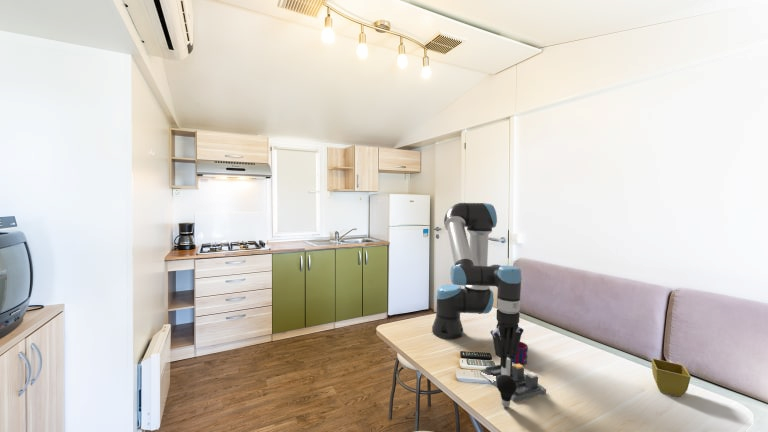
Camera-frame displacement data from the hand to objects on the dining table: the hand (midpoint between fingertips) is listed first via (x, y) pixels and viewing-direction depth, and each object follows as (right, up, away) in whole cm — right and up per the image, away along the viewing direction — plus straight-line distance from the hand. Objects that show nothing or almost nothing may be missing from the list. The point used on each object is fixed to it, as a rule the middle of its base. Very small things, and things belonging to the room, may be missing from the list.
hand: (505, 375), depth 109 cm
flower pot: (+57, -5, -2) cm, 57 cm away
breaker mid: (+5, -2, +2) cm, 6 cm away
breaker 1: (+4, -1, +8) cm, 9 cm away
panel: (+3, -3, +1) cm, 5 cm away
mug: (+11, -3, +18) cm, 22 cm away
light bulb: (-5, -4, -12) cm, 13 cm away
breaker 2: (+8, -2, -4) cm, 9 cm away
